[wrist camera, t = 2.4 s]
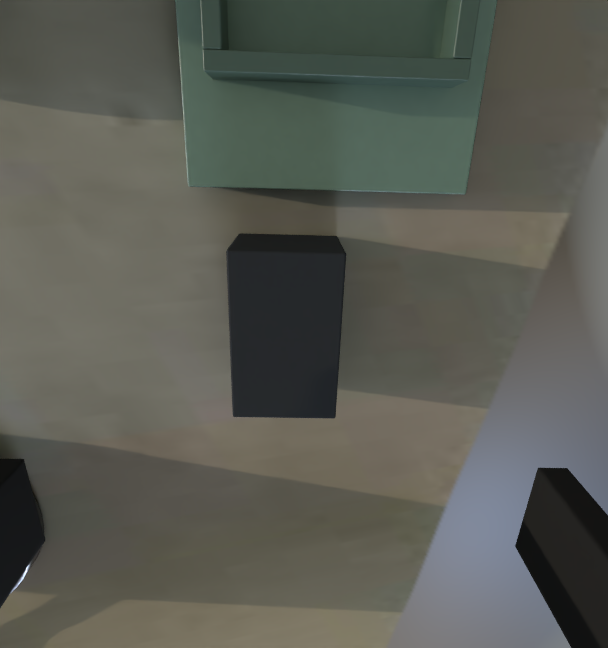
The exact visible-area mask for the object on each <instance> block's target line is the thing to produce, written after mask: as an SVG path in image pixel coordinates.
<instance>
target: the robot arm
mask: <svg viewBox="0 0 608 648" xmlns="http://www.w3.org/2000/svg"><path fill="white" fill-rule="evenodd" d="M44 541H45V537H44V524H43V519H42V515H41V512H40V509H39V506H38V504H37V502H36V500H35V498H34V496H33V492H32V489H31V485H30V481H29V478H28V474H27V470H26V466H25V463H24V459H0V608H1V606H2V605H3V603H4V602H5V600H6V599H7V597H8V596H9V594H10V593H11V592H12V591H13V590H14V589H15V588H16V587H17V586H18V585H19V584H20V582H21V581H22V580H23V578H24V577H25V575H26V573H27V572H28V570H29V569H30V567H31V566H32V564H33V563H34V561H35V560H36V558H37V556H38V554H39V552H40V550H41V547H42V544H43V543H44ZM516 548H517V550H518V552H519V554H520V556H521V558H522V559H523V561H524V563H525V565H526V567H527V568H528V570H529V572H530V574H531V576H532V577H533V579H534V581H535V583H536V584H537V586H538V588H539V590H540V592H541V594H542V595H543V597H544V599H545V601H546V603H547V604H548V606H549V608H550V610H551V611H552V614H553V615H554V617H555V619H556V621H557V623H558V624H559V626H560V628H561V630H562V631H563V634H564V635H565V637H566V639H567V641H568V643H569V644H570V646H571V648H608V515H607V514H606V513H605V512H604V511H603V510H602V508H601V507H600V506H599V505H598V504H597V502H596V501H595V500H594V499H593V498H592V497H591V495H590V494H589V493H588V492H587V491H586V490H585V488H584V487H583V486H582V485H581V484H580V483H579V482H578V480H577V479H576V478H575V477H574V476H573V474H572V473H571V472H570V471H569V470H568V469H567V468H538V470H537V473H536V477H535V480H534V483H533V487H532V491H531V494H530V497H529V501H528V504H527V508H526V511H525V514H524V518H523V521H522V525H521V528H520V532H519V535H518V539H517V542H516Z"/></svg>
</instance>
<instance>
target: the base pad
mask: <svg viewBox="0 0 608 648" xmlns="http://www.w3.org/2000/svg"><path fill="white" fill-rule="evenodd" d="M175 3H176V17H177V31H178V46H179V60H180V75H181V89H182V104H183V118H184V133H185V147H186V161H187V176H188V186H191V187H226V188H261V189H296V190H330V191H365V192H400V193H435V194H466V189H467V183H468V177H469V171H470V165H471V158H472V152H473V146H474V140H475V134H476V128H477V122H478V115H479V109H480V103H481V97H482V91H483V85H484V79H485V73H486V66H487V60H488V54H489V48H490V42H491V36H492V30H493V23H494V17H495V11H496V5H497V0H175Z"/></svg>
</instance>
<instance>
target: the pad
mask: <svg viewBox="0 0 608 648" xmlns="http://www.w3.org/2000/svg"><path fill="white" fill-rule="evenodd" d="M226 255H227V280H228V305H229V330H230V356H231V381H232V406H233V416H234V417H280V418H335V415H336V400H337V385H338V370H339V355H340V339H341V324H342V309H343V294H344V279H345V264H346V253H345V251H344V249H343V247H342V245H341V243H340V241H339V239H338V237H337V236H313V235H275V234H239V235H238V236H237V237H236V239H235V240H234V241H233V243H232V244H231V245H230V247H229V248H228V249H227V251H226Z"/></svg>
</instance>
